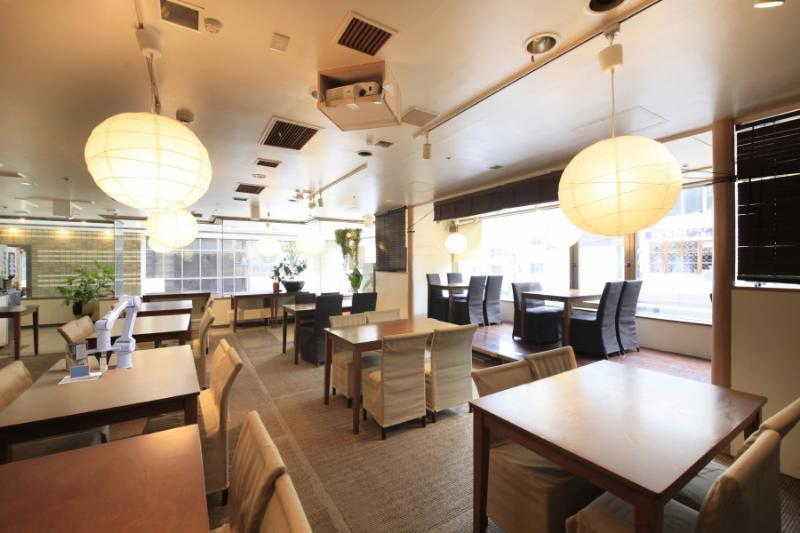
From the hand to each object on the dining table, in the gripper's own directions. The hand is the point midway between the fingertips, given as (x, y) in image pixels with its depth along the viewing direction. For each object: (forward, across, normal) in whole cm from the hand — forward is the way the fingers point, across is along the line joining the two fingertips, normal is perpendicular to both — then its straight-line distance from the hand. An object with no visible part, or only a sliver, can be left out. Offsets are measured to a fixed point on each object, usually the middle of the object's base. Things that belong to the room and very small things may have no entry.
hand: (103, 364), depth 190 cm
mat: (+7, -10, +3) cm, 13 cm away
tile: (+6, -11, +6) cm, 14 cm away
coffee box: (+7, -16, +23) cm, 29 cm away
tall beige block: (+3, 0, 0) cm, 3 cm away
